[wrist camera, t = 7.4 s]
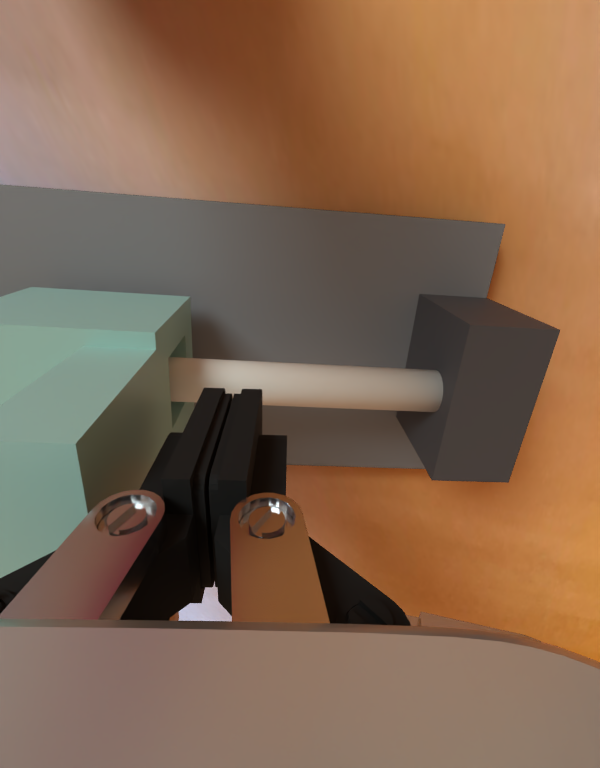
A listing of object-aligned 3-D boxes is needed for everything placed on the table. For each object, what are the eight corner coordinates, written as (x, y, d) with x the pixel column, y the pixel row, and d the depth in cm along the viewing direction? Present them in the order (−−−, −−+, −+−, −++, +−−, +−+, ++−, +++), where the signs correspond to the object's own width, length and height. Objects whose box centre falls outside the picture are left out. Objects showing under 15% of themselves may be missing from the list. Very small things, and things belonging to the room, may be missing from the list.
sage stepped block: (190, 296, 16) (70, 418, 7) (194, 409, 18) (106, 621, 9) (31, 286, 15) (-331, 403, 6) (53, 403, 17) (-195, 621, 8)
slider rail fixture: (487, 222, 18) (652, 234, 10) (432, 453, 22) (514, 583, 15) (-123, 175, 16) (-512, 143, 8) (-42, 437, 21) (-236, 577, 13)
